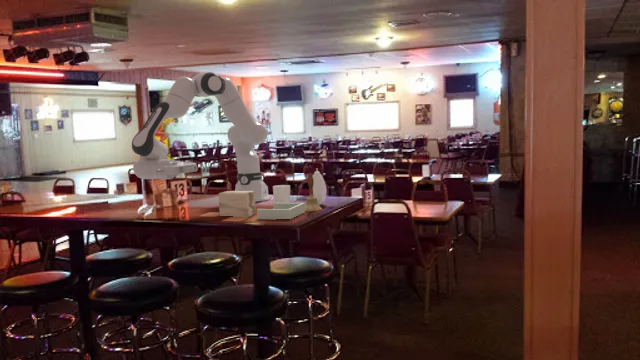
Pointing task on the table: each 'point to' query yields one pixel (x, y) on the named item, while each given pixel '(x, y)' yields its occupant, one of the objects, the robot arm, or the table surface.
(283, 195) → the white cup
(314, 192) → the white tall oval shape
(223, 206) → the pale maple block
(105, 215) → the table surface
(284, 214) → the pale green tray
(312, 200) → the hand bell
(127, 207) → the table surface
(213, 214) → the trap pits
